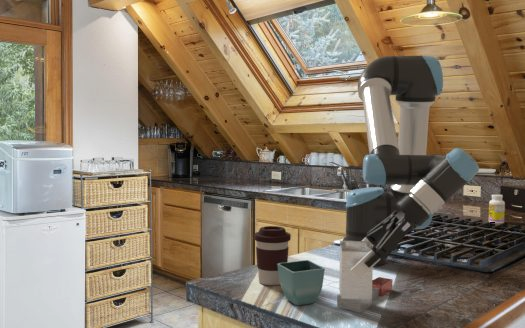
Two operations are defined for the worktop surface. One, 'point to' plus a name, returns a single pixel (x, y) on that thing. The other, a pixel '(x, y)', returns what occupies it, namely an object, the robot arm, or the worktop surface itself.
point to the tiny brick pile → (359, 305)
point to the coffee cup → (271, 252)
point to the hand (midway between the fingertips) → (352, 266)
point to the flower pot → (301, 281)
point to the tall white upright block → (348, 280)
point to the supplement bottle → (496, 209)
